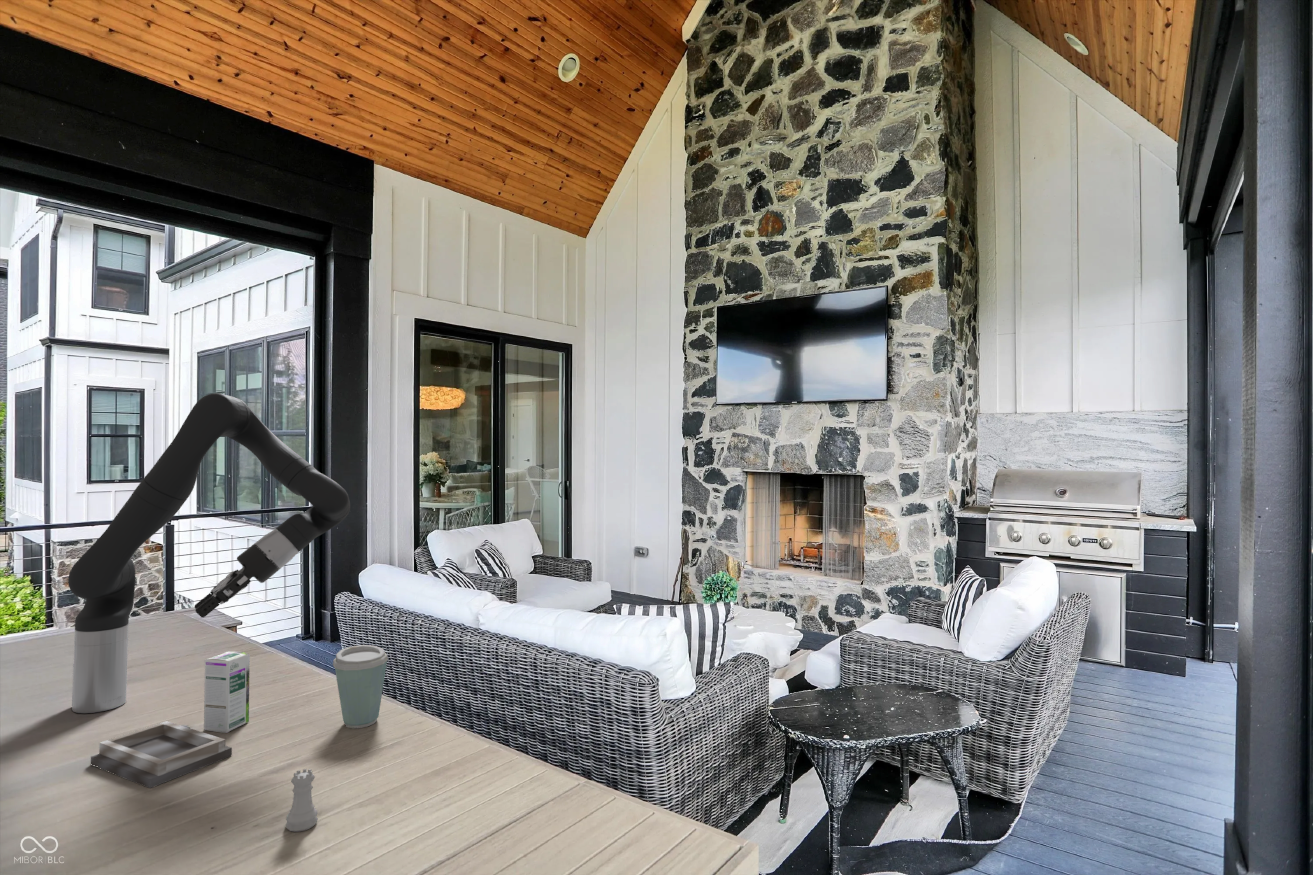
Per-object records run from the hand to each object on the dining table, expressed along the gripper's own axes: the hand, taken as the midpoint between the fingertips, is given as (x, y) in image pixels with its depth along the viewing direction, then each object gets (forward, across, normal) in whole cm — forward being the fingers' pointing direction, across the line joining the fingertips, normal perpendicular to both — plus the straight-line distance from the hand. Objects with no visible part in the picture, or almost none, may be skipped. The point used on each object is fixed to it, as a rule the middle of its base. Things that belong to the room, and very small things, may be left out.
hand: (197, 612), depth 142 cm
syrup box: (+11, -2, +22) cm, 25 cm away
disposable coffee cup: (-6, +10, +38) cm, 39 cm away
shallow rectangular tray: (+20, +10, +16) cm, 27 cm away
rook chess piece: (+9, +47, +30) cm, 57 cm away
